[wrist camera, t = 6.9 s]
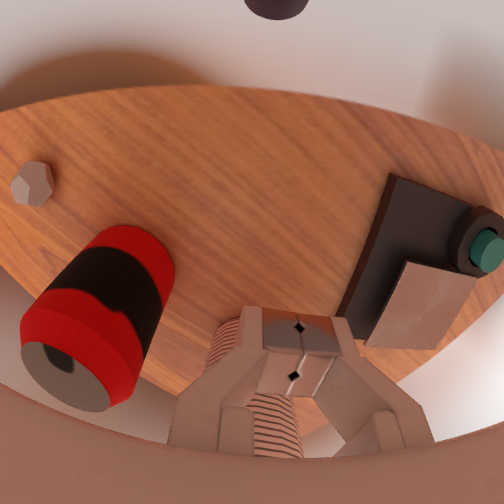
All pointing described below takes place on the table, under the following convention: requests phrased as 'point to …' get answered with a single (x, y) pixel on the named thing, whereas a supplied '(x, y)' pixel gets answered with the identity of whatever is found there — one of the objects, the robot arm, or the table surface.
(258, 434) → the cup
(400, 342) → the pan
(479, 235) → the button
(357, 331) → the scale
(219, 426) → the robot arm
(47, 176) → the polyhedron
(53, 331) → the soda can
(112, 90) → the table surface
